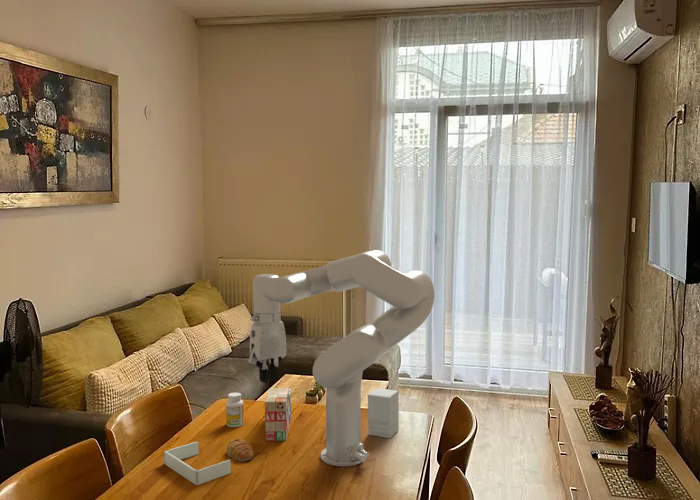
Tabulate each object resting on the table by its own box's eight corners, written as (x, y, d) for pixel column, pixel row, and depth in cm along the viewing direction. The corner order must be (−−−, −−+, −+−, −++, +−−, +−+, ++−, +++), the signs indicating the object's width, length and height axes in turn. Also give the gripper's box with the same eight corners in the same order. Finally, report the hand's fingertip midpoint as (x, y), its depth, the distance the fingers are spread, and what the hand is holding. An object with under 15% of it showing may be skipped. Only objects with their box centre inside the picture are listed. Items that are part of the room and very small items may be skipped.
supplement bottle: (235, 420, 203) (234, 390, 202) (247, 423, 200) (246, 393, 199) (222, 425, 198) (222, 394, 198) (234, 428, 195) (234, 398, 194)
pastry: (259, 459, 173) (259, 446, 173) (236, 465, 169) (236, 452, 169) (245, 448, 181) (245, 435, 181) (223, 453, 177) (223, 440, 177)
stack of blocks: (272, 415, 207) (272, 379, 206) (291, 415, 207) (291, 379, 206) (265, 441, 185) (264, 400, 184) (286, 441, 186) (286, 400, 184)
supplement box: (399, 430, 193) (399, 390, 192) (389, 439, 187) (389, 397, 186) (377, 426, 197) (377, 387, 196) (367, 434, 190) (367, 393, 189)
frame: (230, 473, 164) (230, 460, 164) (196, 485, 157) (196, 471, 157) (197, 453, 177) (197, 441, 176) (164, 463, 170) (163, 451, 170)
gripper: (251, 323, 171) (252, 390, 172) (297, 315, 182) (298, 378, 183) (235, 319, 176) (237, 384, 178) (281, 312, 187) (282, 373, 189)
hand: (268, 380), depth 181 cm, fingers closed
